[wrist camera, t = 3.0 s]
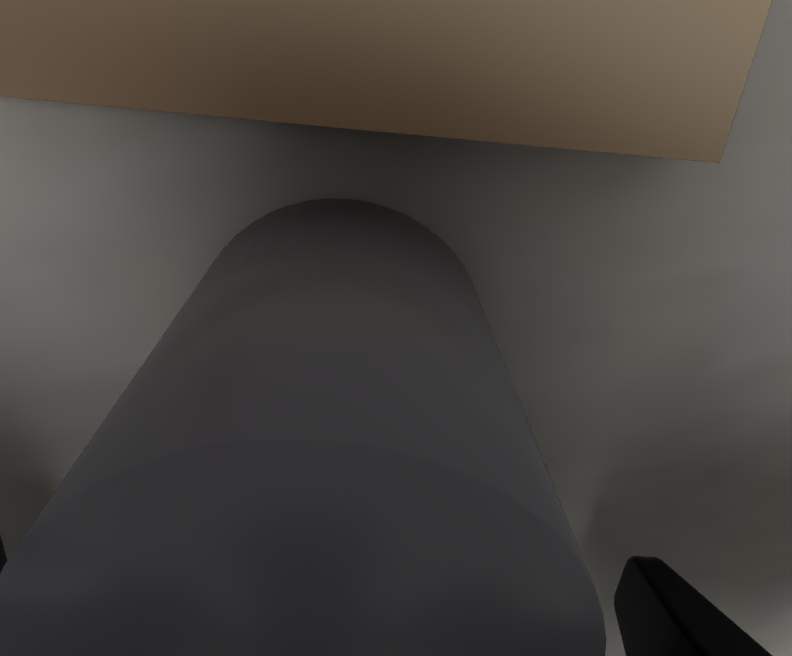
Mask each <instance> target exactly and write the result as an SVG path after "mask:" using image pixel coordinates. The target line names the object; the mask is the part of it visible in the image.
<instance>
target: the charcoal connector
mask: <svg viewBox="0 0 792 656" xmlns="http://www.w3.org/2000/svg"><path fill="white" fill-rule="evenodd" d="M605 649H606V635H605V627H604V618H603V613H602V610H601V607H600V604H599V601H598V598H597V595H596V592H595V589H594V586H593V583H592V581H591V578H590V576H589V573H588V571H587V568H586V566H585V563H584V561H583V558H582V556H581V553H580V551H579V548H578V546H577V543H576V541H575V538H574V536H573V533H572V531H571V528H570V526H569V523H568V521H567V519H566V516H565V514H564V511H563V509H562V506H561V504H560V501H559V499H558V496H557V494H556V491H555V489H554V486H553V484H552V481H551V479H550V476H549V474H548V471H547V469H546V466H545V464H544V461H543V459H542V456H541V454H540V451H539V449H538V446H537V444H536V441H535V439H534V436H533V434H532V431H531V429H530V426H529V424H528V421H527V419H526V416H525V414H524V411H523V409H522V406H521V404H520V401H519V399H518V396H517V394H516V391H515V389H514V386H513V384H512V381H511V379H510V376H509V374H508V371H507V369H506V366H505V364H504V361H503V359H502V356H501V354H500V351H499V349H498V346H497V344H496V341H495V339H494V336H493V334H492V331H491V329H490V326H489V324H488V321H487V319H486V316H485V314H484V312H483V309H482V307H481V304H480V302H479V299H478V297H477V294H476V292H475V289H474V287H473V284H472V282H471V280H470V278H469V276H468V274H467V272H466V270H465V268H464V266H463V265H462V264H461V262H460V261H459V260H458V258H457V257H456V255H455V254H454V253H453V251H452V250H451V249H450V248H449V247H448V246H447V245H446V244H445V243H444V242H443V241H442V240H441V239H440V238H439V237H438V236H437V235H435V234H434V233H433V232H432V231H430V230H429V229H428V228H427V227H425V226H424V225H422V224H421V223H419V222H417V221H416V220H414V219H412V218H411V217H409V216H407V215H405V214H402V213H400V212H398V211H395V210H393V209H391V208H388V207H385V206H381V205H378V204H374V203H371V202H365V201H358V200H351V199H321V200H312V201H306V202H302V203H298V204H294V205H290V206H286V207H284V208H281V209H279V210H276V211H274V212H271V213H269V214H267V215H265V216H264V217H262V218H260V219H258V220H256V221H255V222H253V223H251V224H250V225H249V226H248V227H246V228H245V229H244V230H242V231H241V232H240V233H238V234H237V235H236V236H235V237H234V238H233V239H232V240H231V241H230V242H229V243H228V244H227V245H226V246H225V247H224V249H223V250H222V251H221V253H220V254H219V255H218V257H217V258H216V260H215V261H214V262H213V264H212V265H211V267H210V268H209V270H208V271H207V273H206V274H205V275H204V277H203V278H202V280H201V281H200V283H199V284H198V286H197V287H196V288H195V290H194V291H193V293H192V294H191V296H190V297H189V299H188V300H187V301H186V303H185V304H184V306H183V307H182V309H181V310H180V312H179V313H178V315H177V316H176V317H175V319H174V320H173V322H172V323H171V325H170V326H169V328H168V329H167V330H166V332H165V333H164V335H163V336H162V338H161V339H160V341H159V342H158V343H157V345H156V346H155V348H154V349H153V351H152V352H151V354H150V355H149V356H148V358H147V359H146V361H145V362H144V364H143V365H142V367H141V368H140V370H139V371H138V372H137V374H136V375H135V377H134V378H133V380H132V381H131V383H130V384H129V385H128V387H127V388H126V390H125V391H124V393H123V394H122V396H121V397H120V398H119V400H118V401H117V403H116V404H115V406H114V407H113V409H112V410H111V411H110V413H109V414H108V416H107V417H106V419H105V420H104V422H103V423H102V424H101V426H100V427H99V429H98V430H97V432H96V433H95V435H94V436H93V438H92V439H91V440H90V442H89V443H88V445H87V446H86V448H85V449H84V451H83V452H82V453H81V455H80V456H79V458H78V459H77V461H76V462H75V464H74V465H73V466H72V468H71V469H70V471H69V472H68V474H67V475H66V477H65V478H64V479H63V481H62V482H61V484H60V485H59V487H58V488H57V490H56V491H55V493H54V494H53V495H52V497H51V498H50V500H49V501H48V503H47V504H46V506H45V507H44V508H43V510H42V511H41V513H40V514H39V516H38V517H37V519H36V520H35V521H34V523H33V524H32V526H31V527H30V529H29V530H28V532H27V533H26V534H25V536H24V537H23V539H22V540H21V542H20V543H19V545H18V546H17V548H16V549H15V550H14V552H13V553H12V555H11V556H10V558H9V559H8V561H7V562H6V563H5V565H4V567H3V569H2V571H1V573H0V656H605Z"/></svg>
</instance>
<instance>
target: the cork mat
mask: <svg viewBox="0 0 792 656" xmlns="http://www.w3.org/2000/svg"><path fill="white" fill-rule="evenodd" d="M771 3H772V0H0V96H1V97H12V98H23V99H34V100H45V101H55V102H66V103H77V104H88V105H98V106H109V107H120V108H131V109H142V110H152V111H163V112H174V113H185V114H195V115H206V116H217V117H228V118H238V119H249V120H260V121H271V122H282V123H292V124H303V125H314V126H325V127H335V128H346V129H357V130H368V131H379V132H389V133H400V134H411V135H422V136H432V137H443V138H454V139H465V140H475V141H486V142H497V143H508V144H519V145H529V146H540V147H551V148H562V149H572V150H583V151H594V152H605V153H616V154H626V155H637V156H648V157H659V158H669V159H680V160H691V161H702V162H713V163H720V160H721V157H722V154H723V151H724V147H725V144H726V141H727V138H728V135H729V132H730V129H731V126H732V123H733V120H734V117H735V114H736V111H737V108H738V104H739V101H740V98H741V95H742V92H743V89H744V86H745V83H746V80H747V77H748V74H749V71H750V68H751V65H752V61H753V58H754V55H755V52H756V49H757V46H758V43H759V40H760V37H761V34H762V31H763V28H764V25H765V21H766V18H767V15H768V12H769V9H770V6H771Z"/></svg>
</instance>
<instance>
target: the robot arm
mask: <svg viewBox="0 0 792 656" xmlns="http://www.w3.org/2000/svg"><path fill="white" fill-rule="evenodd" d="M6 562H7V558H6V554H5V550H4V547H3V543H2V539H1V536H0V573H1V571H2V569H3V567H4V565H5V563H6ZM614 606H615V612H616V616H617V621H618V625H619V629H620V633H621V637H622V641H623V645H624V649H625V653H626V656H772V655H771V654H770V653H769V652H768V651H766V650H765V649H764V648H763V647H762V646H761V645H759V644H758V643H757V642H756V641H755V640H754V639H752V638H751V637H750V636H749V635H748V634H747V633H746V632H744V631H743V630H742V629H741V628H740V627H739V626H737V625H736V624H735V623H734V622H733V621H732V620H730V619H729V618H728V617H727V616H726V615H725V614H724V613H722V612H721V611H720V610H719V609H718V608H717V607H715V606H714V605H713V604H712V603H711V602H710V601H708V600H707V599H706V598H705V597H704V596H703V595H702V594H700V593H699V592H698V591H697V590H696V589H695V588H693V587H692V586H691V585H690V584H689V583H688V582H686V581H685V580H684V579H683V578H682V577H681V576H680V575H678V574H677V573H676V572H675V571H674V570H673V569H671V568H670V567H669V566H668V565H667V564H666V563H664V562H663V561H662V560H660V559H659V558H656V557H645V556H633V557H630V558H629V559H628V560H627V562H626V564H625V567H624V570H623V573H622V575H621V578H620V581H619V584H618V586H617V589H616V592H615V597H614Z"/></svg>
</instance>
